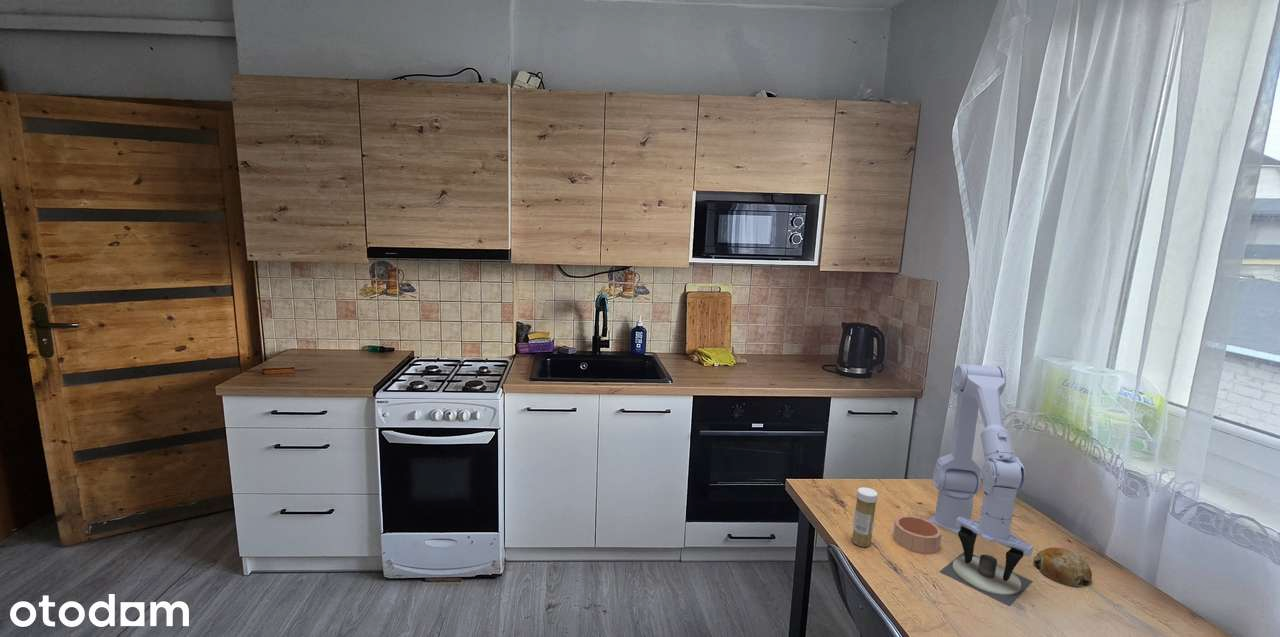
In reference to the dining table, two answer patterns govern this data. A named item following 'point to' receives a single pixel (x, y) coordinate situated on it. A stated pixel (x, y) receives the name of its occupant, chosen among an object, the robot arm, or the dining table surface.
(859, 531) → the sprinkles bottle
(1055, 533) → the dining table surface
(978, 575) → the lid
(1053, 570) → the bread roll
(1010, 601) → the mat
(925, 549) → the bowl
